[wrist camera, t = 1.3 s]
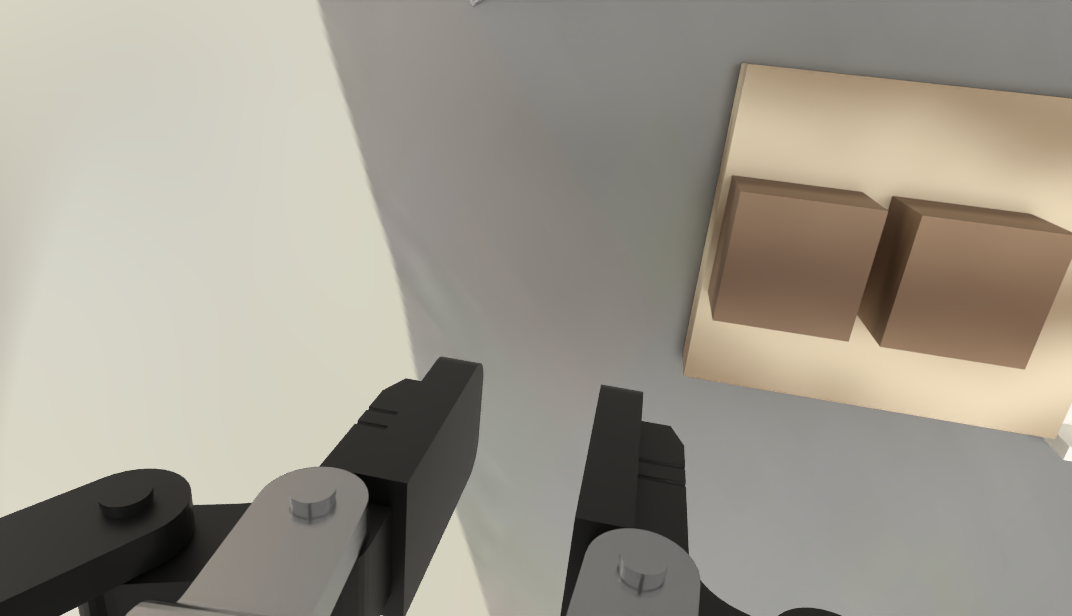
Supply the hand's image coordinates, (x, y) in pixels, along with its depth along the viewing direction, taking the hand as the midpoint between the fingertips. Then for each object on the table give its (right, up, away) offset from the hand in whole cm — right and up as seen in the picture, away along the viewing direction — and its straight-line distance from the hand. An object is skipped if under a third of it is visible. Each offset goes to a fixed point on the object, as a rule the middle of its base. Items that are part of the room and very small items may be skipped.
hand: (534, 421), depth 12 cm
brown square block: (+9, +4, +13) cm, 16 cm away
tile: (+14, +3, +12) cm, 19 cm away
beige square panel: (+14, +4, +14) cm, 20 cm away
